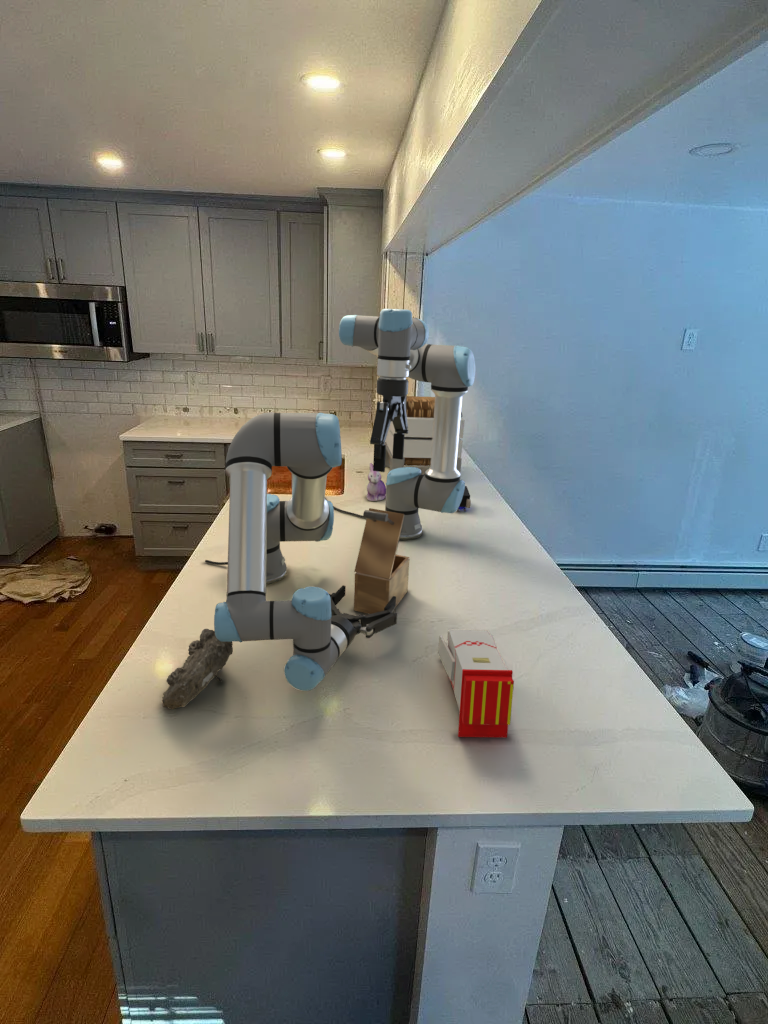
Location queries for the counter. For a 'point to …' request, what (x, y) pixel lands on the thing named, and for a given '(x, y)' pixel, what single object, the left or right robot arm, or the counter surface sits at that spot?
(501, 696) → the toy
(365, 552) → the lid
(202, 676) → the fossil
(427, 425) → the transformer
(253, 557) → the left robot arm
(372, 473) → the figurine
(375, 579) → the chest
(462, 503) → the figurine character
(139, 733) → the counter surface
